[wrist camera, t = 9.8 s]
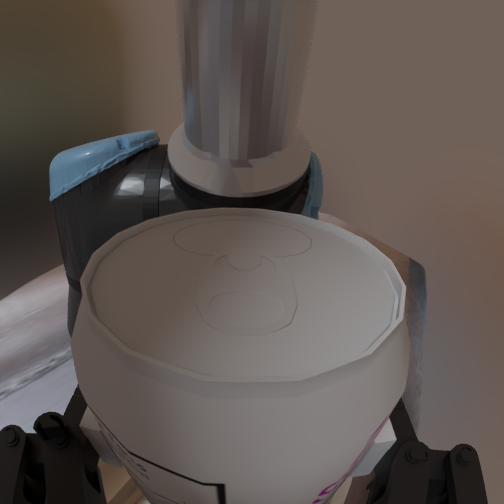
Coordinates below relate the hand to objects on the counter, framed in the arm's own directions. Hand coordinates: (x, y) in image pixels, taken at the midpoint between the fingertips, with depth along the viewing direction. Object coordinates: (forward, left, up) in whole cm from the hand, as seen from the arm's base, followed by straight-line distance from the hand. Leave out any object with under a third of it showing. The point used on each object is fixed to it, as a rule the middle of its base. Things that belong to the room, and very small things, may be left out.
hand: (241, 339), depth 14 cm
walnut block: (-2, -10, -15) cm, 18 cm away
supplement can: (+4, -2, -9) cm, 10 cm away
